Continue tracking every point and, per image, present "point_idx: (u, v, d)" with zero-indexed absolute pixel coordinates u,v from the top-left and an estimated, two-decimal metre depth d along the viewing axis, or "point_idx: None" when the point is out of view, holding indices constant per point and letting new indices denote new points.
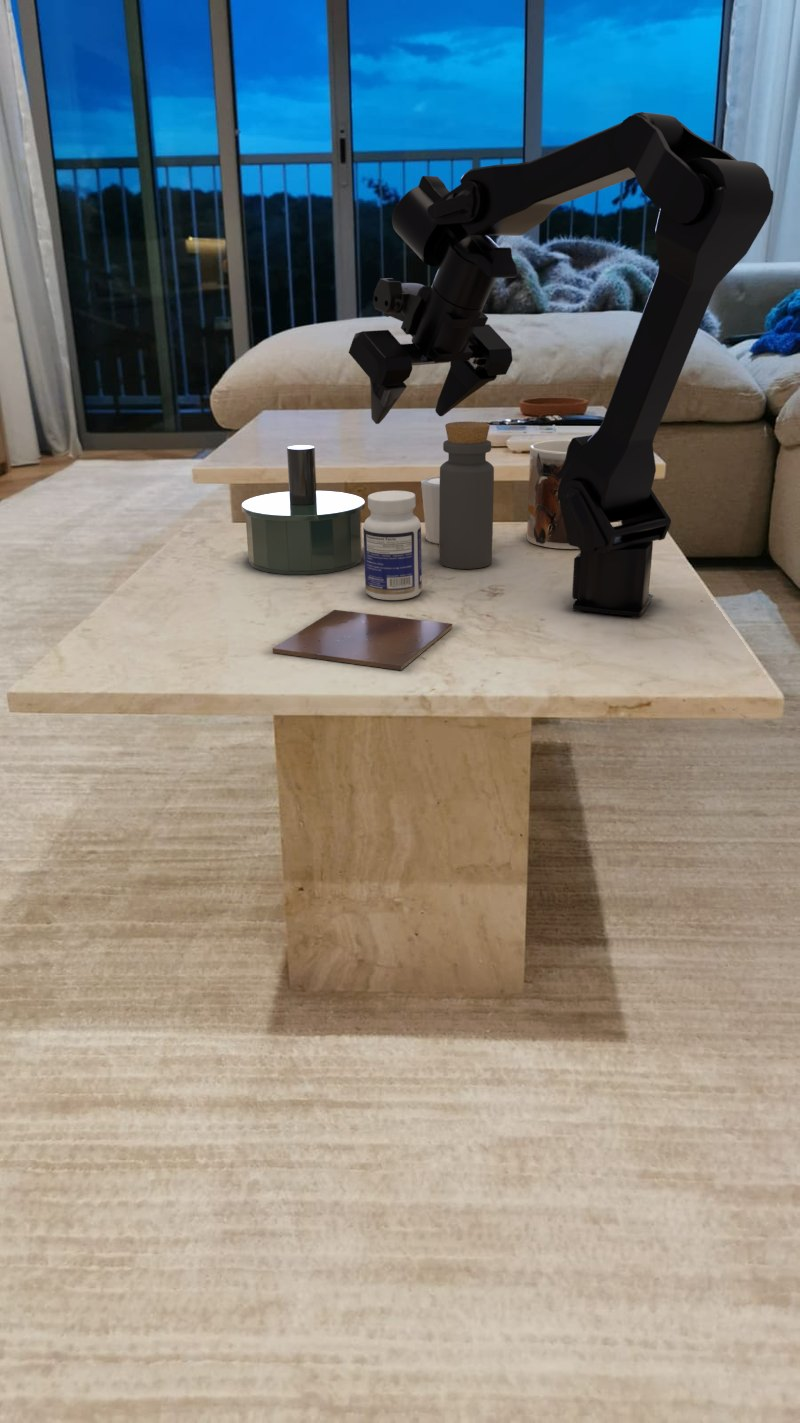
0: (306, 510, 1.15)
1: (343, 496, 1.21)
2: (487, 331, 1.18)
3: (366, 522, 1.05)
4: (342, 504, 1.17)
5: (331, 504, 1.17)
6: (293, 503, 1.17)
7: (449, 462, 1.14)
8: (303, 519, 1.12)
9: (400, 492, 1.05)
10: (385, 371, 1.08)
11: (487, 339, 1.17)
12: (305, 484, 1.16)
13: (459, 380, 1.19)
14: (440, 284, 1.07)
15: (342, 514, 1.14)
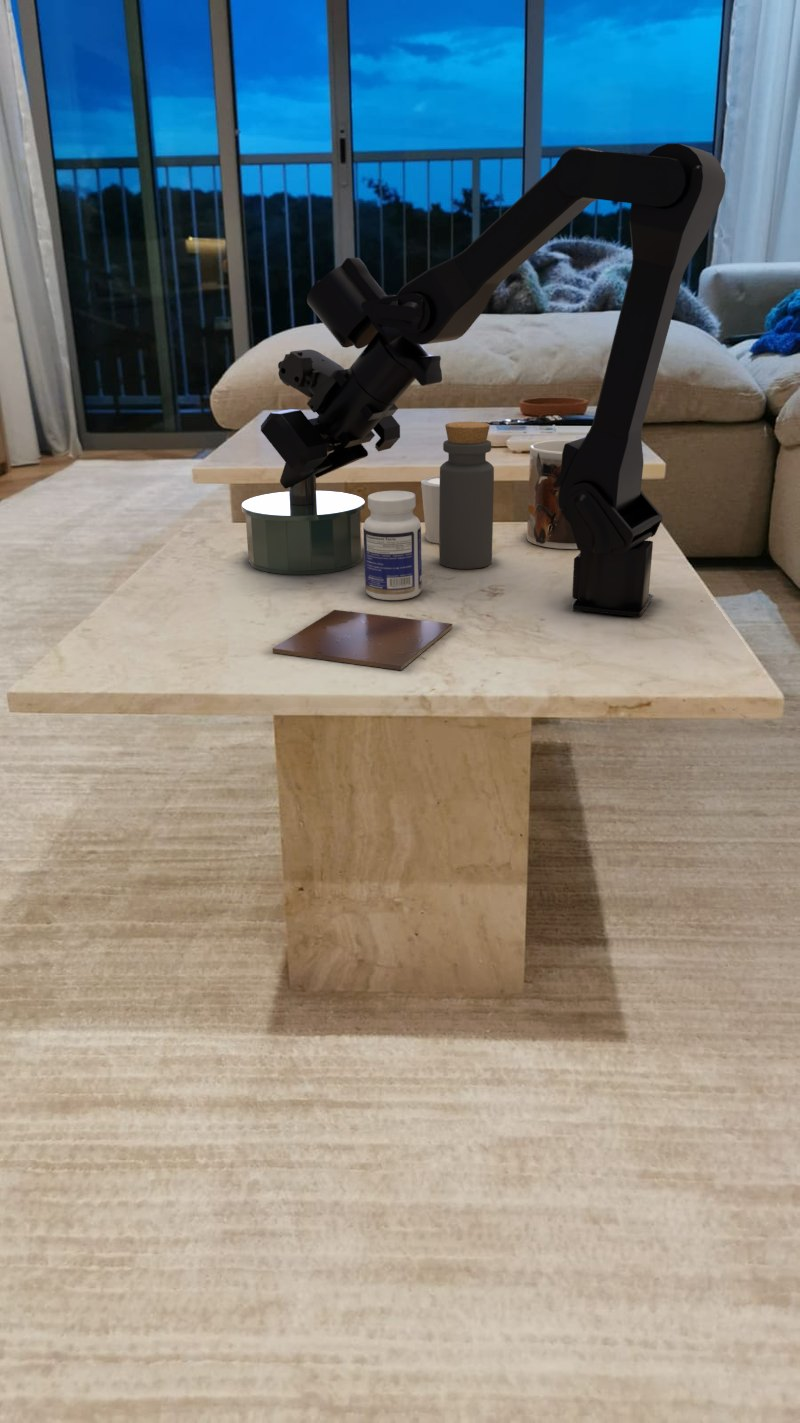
0: (306, 510, 1.15)
1: (343, 496, 1.21)
2: None
3: (366, 522, 1.05)
4: (342, 504, 1.17)
5: (331, 504, 1.17)
6: (293, 503, 1.17)
7: (449, 462, 1.14)
8: (303, 519, 1.12)
9: (400, 492, 1.05)
10: (306, 461, 1.06)
11: None
12: (305, 484, 1.16)
13: (331, 454, 1.17)
14: (363, 377, 1.06)
15: (342, 514, 1.14)
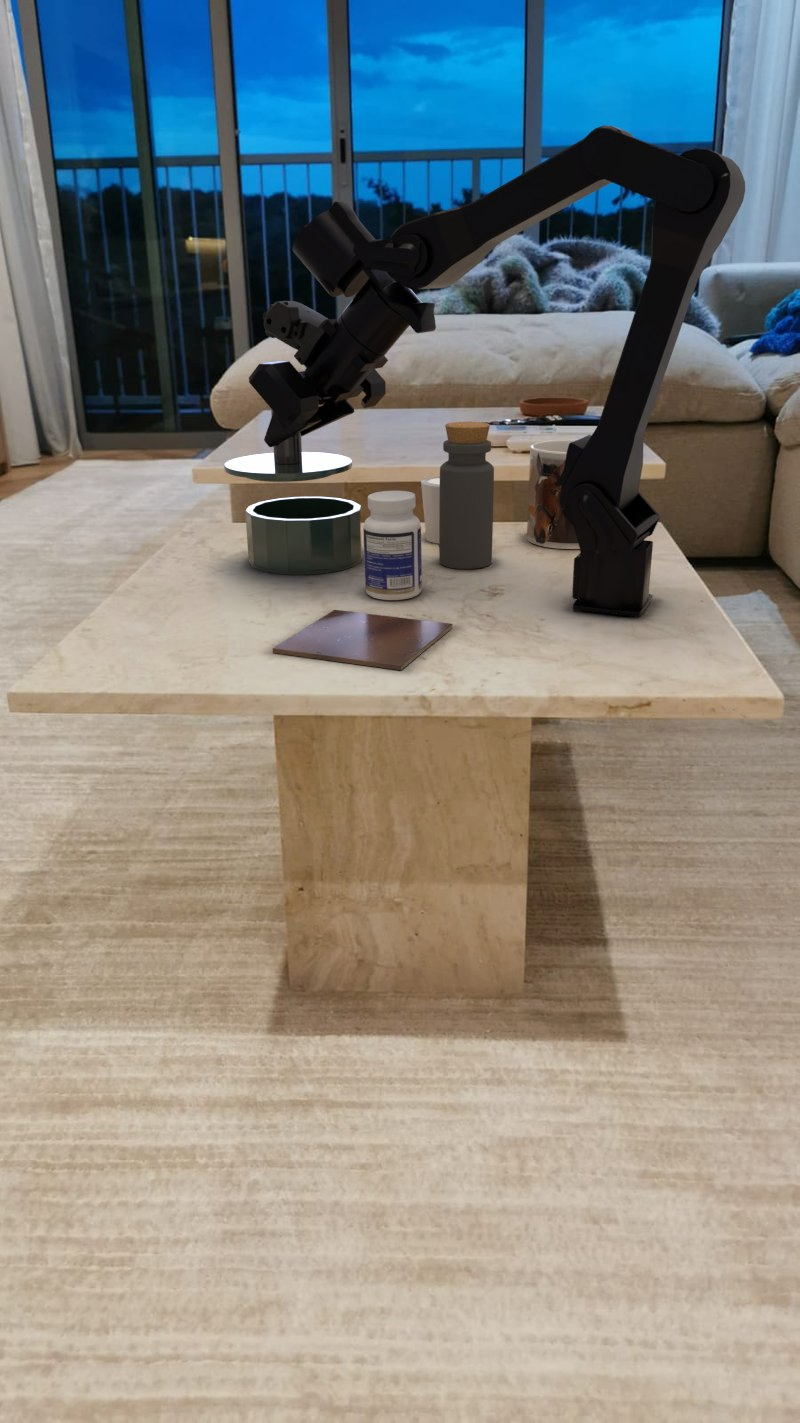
0: (294, 468, 1.10)
1: (328, 456, 1.17)
2: None
3: (366, 522, 1.05)
4: (329, 463, 1.13)
5: (318, 463, 1.13)
6: (278, 462, 1.13)
7: (449, 462, 1.14)
8: (292, 477, 1.08)
9: (400, 492, 1.05)
10: (298, 413, 1.02)
11: None
12: (291, 442, 1.12)
13: (316, 410, 1.13)
14: (355, 325, 1.02)
15: (332, 471, 1.10)
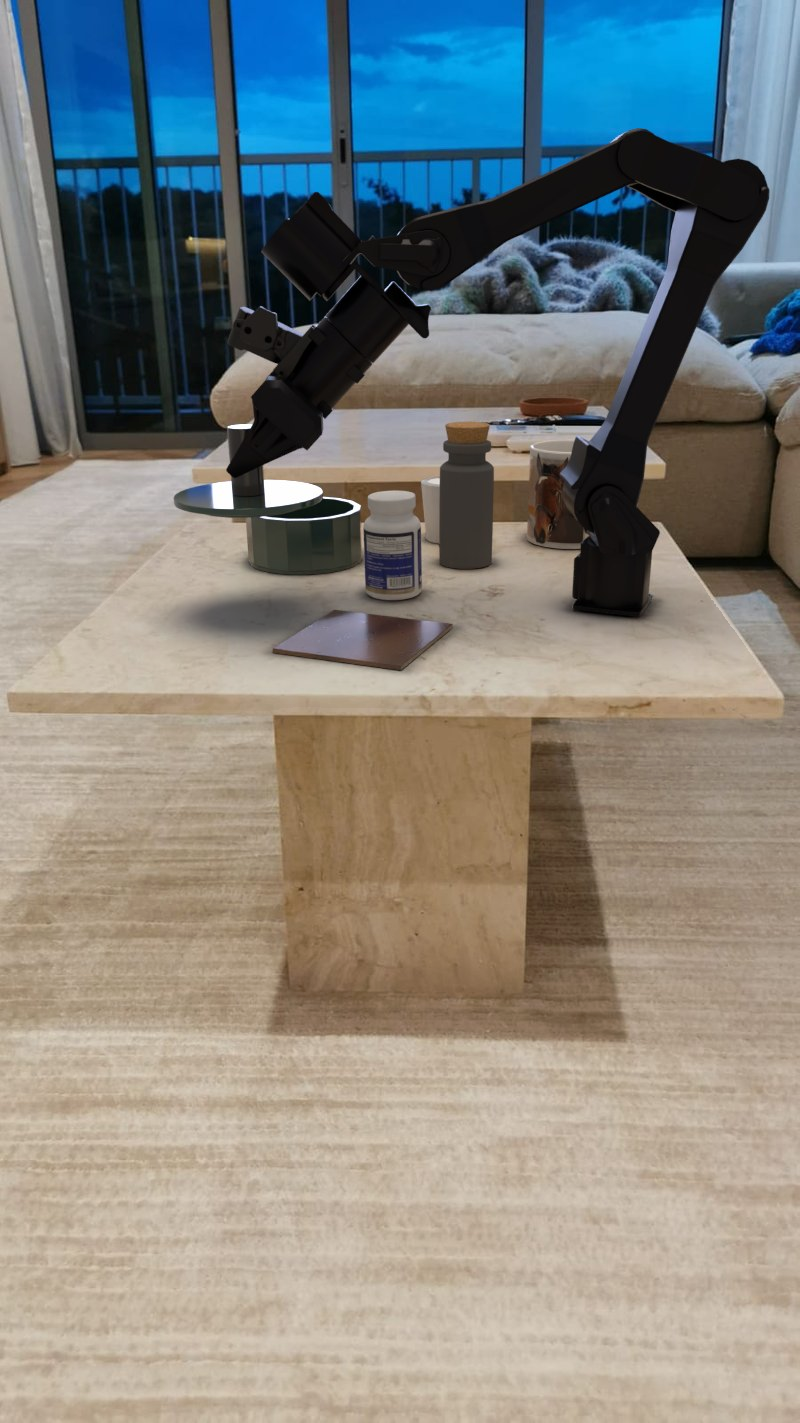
0: (276, 499, 0.95)
1: (274, 483, 1.03)
2: None
3: (366, 522, 1.05)
4: (297, 489, 1.00)
5: (285, 491, 0.99)
6: (244, 495, 0.97)
7: (449, 462, 1.14)
8: (288, 509, 0.94)
9: (400, 492, 1.05)
10: (319, 434, 0.88)
11: None
12: (258, 470, 0.97)
13: None
14: (354, 332, 0.91)
15: (319, 499, 0.97)
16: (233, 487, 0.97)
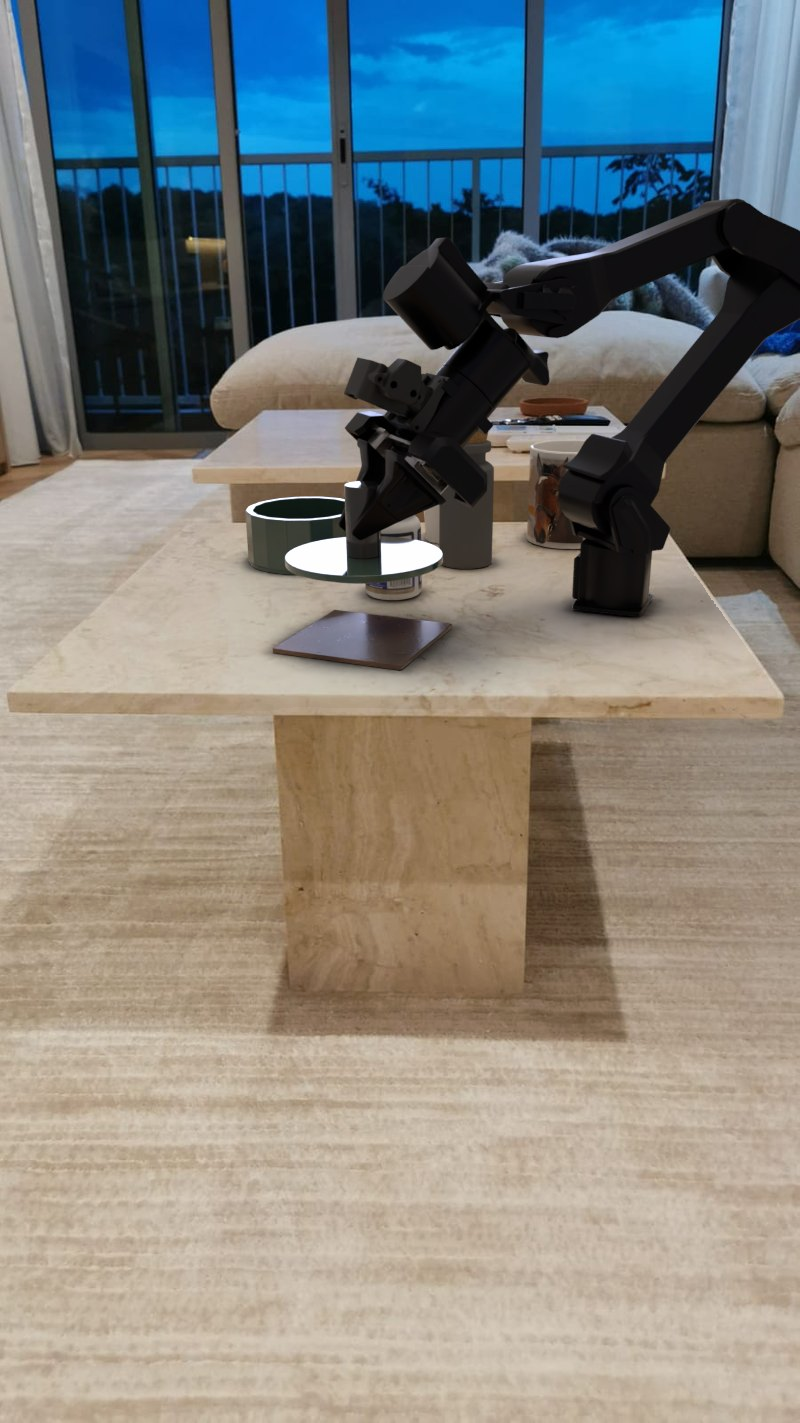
0: (408, 559, 0.90)
1: None
2: None
3: None
4: (406, 546, 0.94)
5: (398, 548, 0.94)
6: (366, 557, 0.91)
7: None
8: (432, 569, 0.89)
9: None
10: (485, 491, 0.84)
11: None
12: None
13: None
14: (487, 382, 0.88)
15: None
16: (353, 549, 0.91)
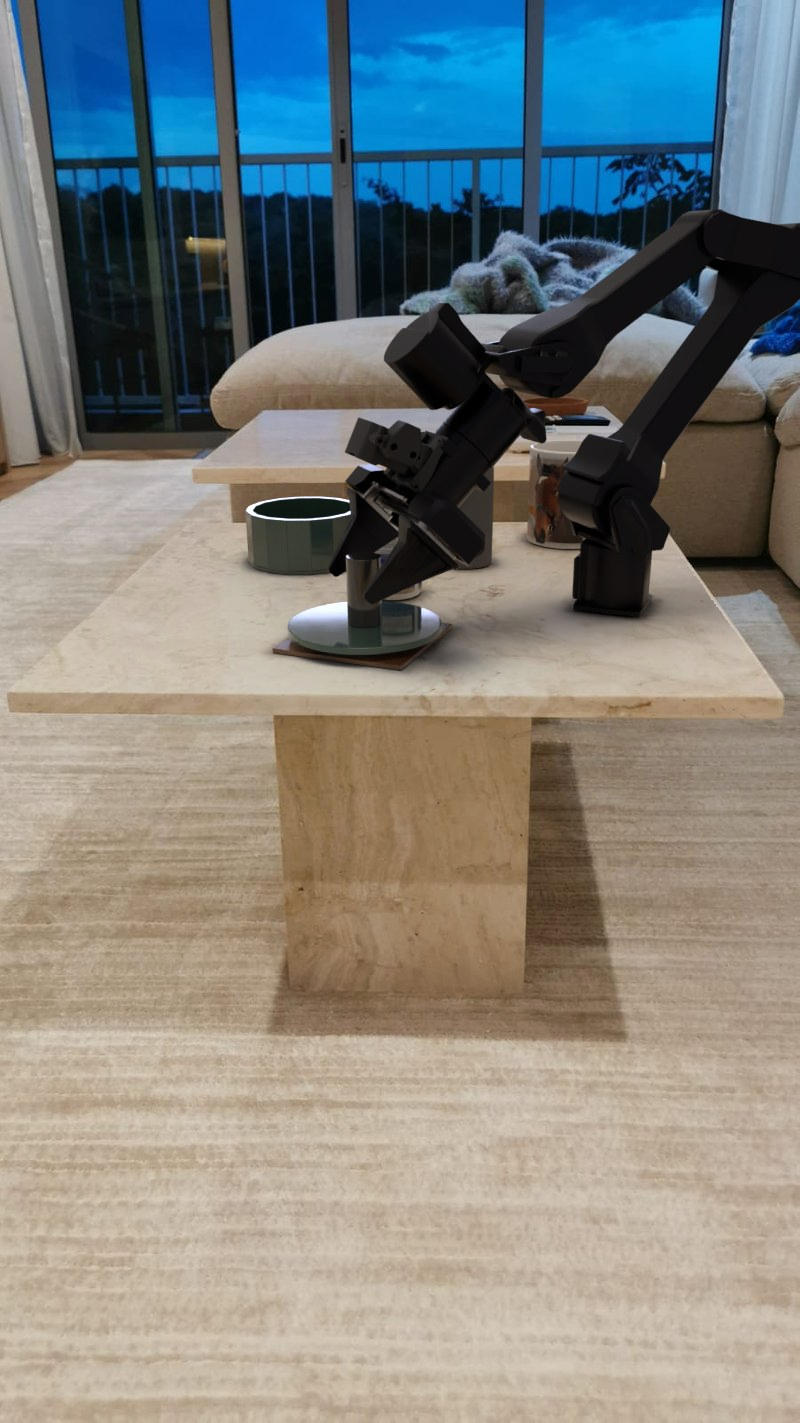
0: (407, 629, 0.92)
1: None
2: None
3: None
4: (406, 613, 0.97)
5: (398, 616, 0.96)
6: (367, 626, 0.93)
7: None
8: (431, 639, 0.91)
9: None
10: (483, 550, 0.86)
11: None
12: None
13: (371, 534, 0.97)
14: (485, 442, 0.89)
15: None
16: (354, 619, 0.93)
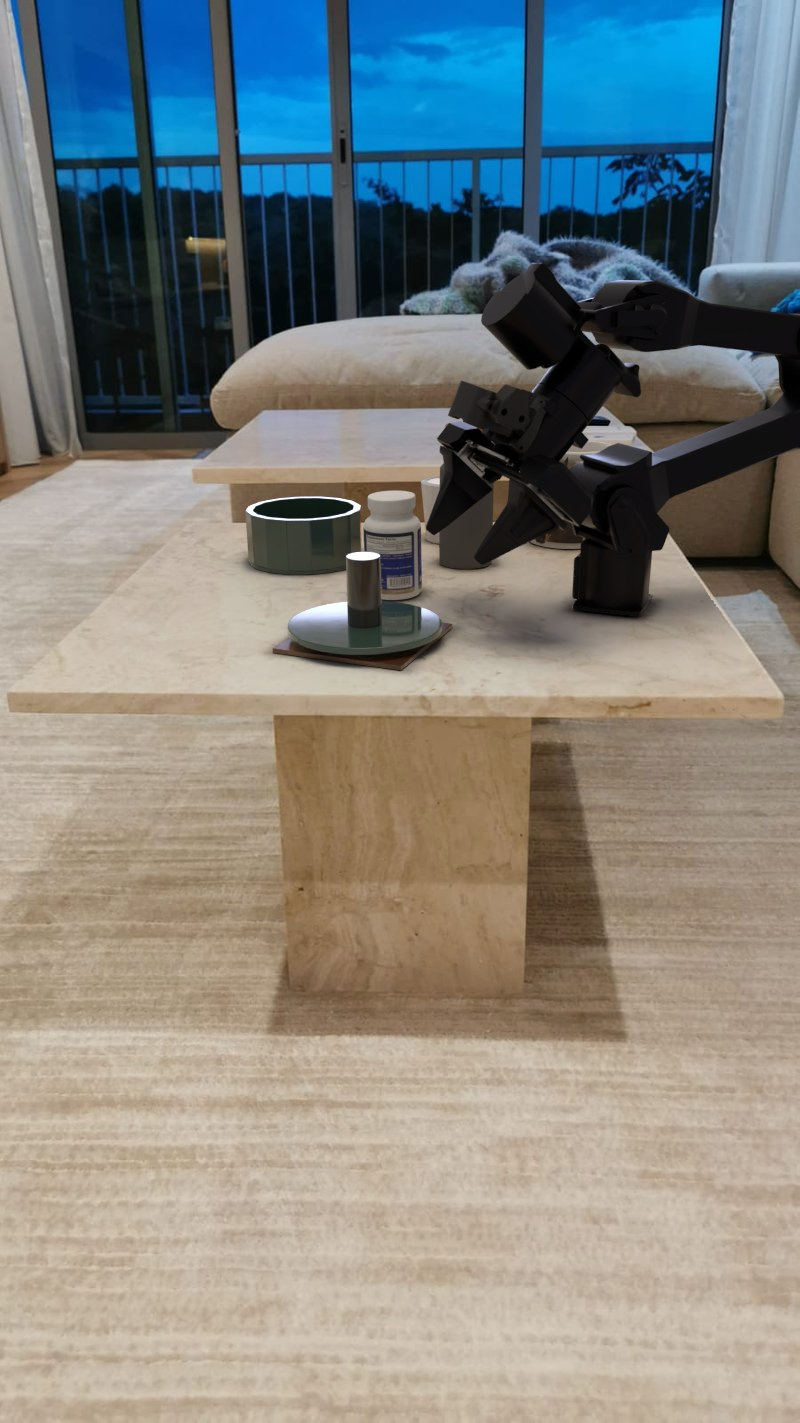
0: (407, 629, 0.92)
1: None
2: None
3: (366, 522, 1.05)
4: (406, 613, 0.97)
5: (398, 616, 0.96)
6: (367, 626, 0.93)
7: None
8: (431, 639, 0.91)
9: (400, 492, 1.05)
10: None
11: None
12: (380, 599, 0.93)
13: (466, 491, 0.99)
14: (583, 398, 0.92)
15: None
16: (354, 619, 0.93)
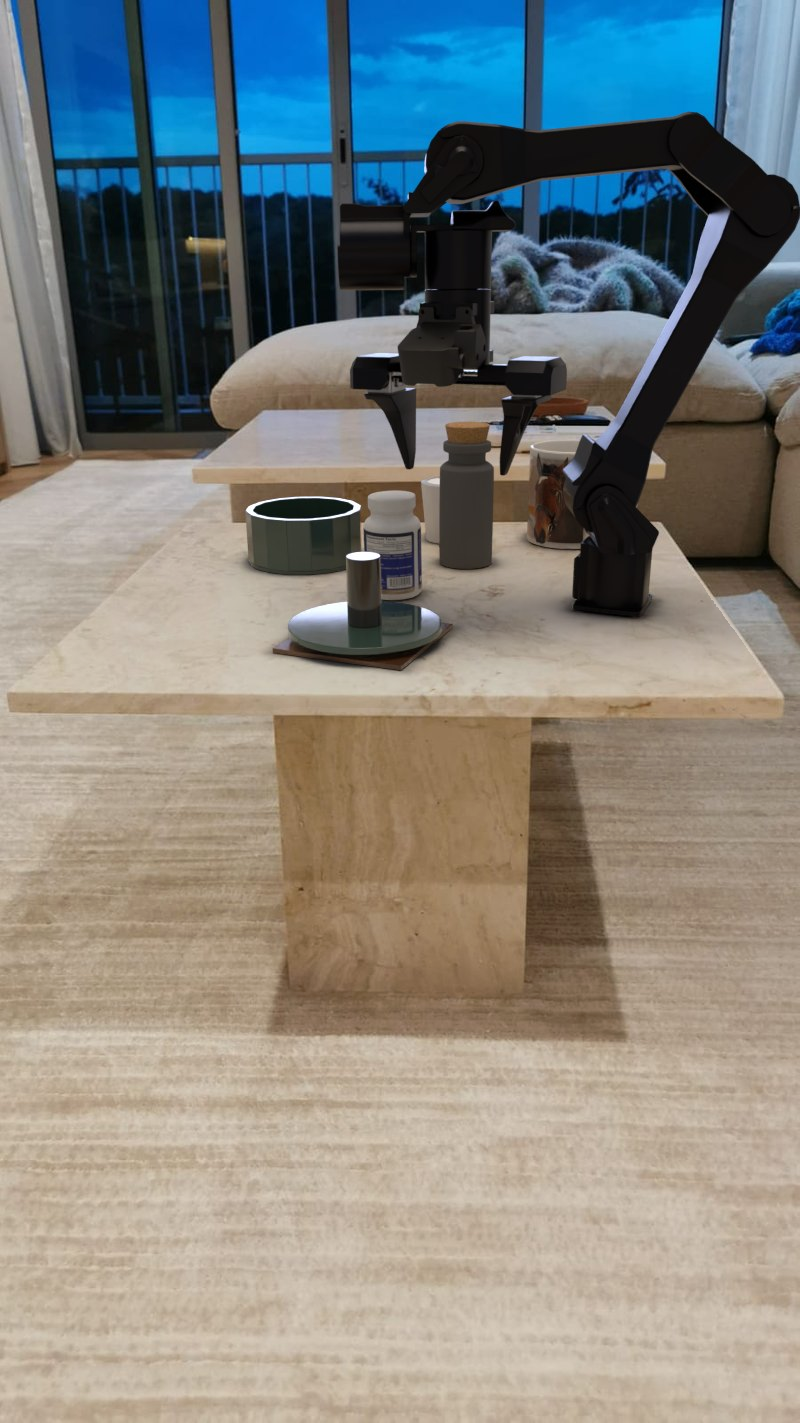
0: (407, 629, 0.92)
1: None
2: (374, 355, 0.97)
3: (366, 522, 1.05)
4: (406, 613, 0.97)
5: (398, 616, 0.96)
6: (367, 626, 0.93)
7: (449, 462, 1.14)
8: (431, 639, 0.91)
9: (400, 492, 1.05)
10: None
11: (390, 354, 0.97)
12: (380, 599, 0.93)
13: (409, 412, 0.99)
14: (457, 278, 0.90)
15: None
16: (354, 619, 0.93)
